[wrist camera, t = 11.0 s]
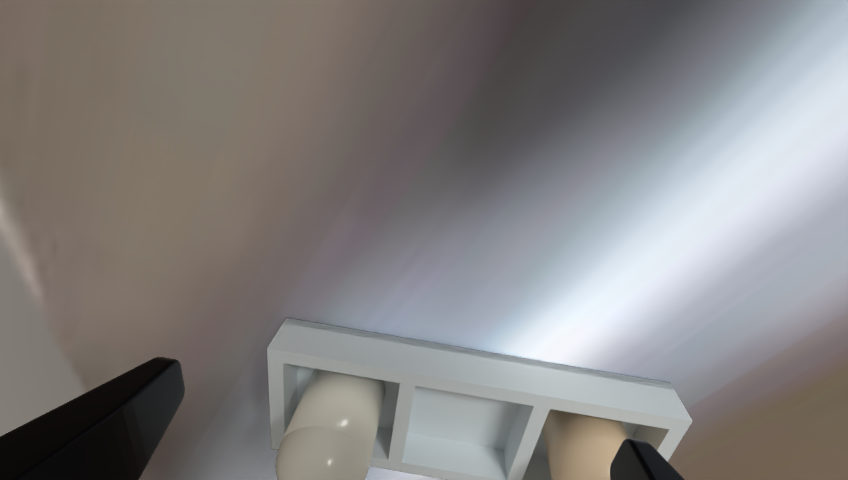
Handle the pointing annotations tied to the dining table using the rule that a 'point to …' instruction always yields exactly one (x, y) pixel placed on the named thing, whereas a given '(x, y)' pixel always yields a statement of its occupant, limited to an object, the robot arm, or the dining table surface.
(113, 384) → the robot arm
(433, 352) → the divided compartment tray
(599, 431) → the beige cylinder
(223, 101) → the dining table surface
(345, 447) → the white capsule shape
